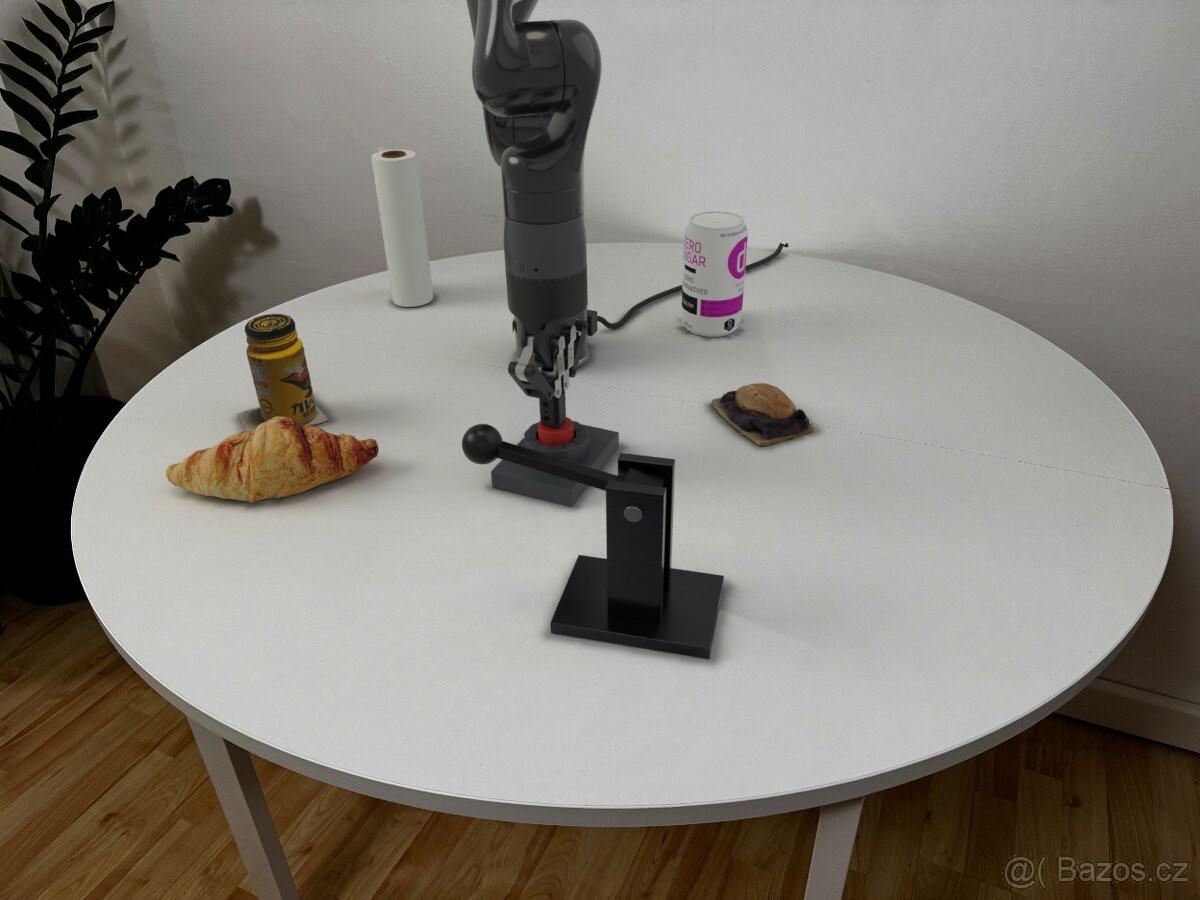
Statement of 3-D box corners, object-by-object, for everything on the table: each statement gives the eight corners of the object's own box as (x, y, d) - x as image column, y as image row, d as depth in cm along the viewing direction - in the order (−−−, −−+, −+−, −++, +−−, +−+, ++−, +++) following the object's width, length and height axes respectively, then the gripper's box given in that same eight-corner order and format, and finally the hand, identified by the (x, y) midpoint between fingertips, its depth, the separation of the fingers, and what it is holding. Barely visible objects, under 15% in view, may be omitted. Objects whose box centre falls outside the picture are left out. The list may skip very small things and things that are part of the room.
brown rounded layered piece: (705, 406, 105) (706, 378, 103) (766, 391, 107) (768, 363, 106) (755, 449, 96) (757, 420, 94) (820, 431, 99) (823, 402, 97)
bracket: (550, 633, 73) (542, 495, 66) (578, 564, 80) (574, 433, 73) (709, 659, 70) (719, 518, 63) (723, 585, 78) (733, 451, 70)
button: (548, 426, 94) (547, 412, 93) (579, 433, 93) (579, 418, 92) (532, 443, 91) (531, 428, 90) (564, 450, 90) (563, 435, 89)
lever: (453, 465, 70) (457, 432, 68) (468, 444, 72) (472, 411, 71) (650, 525, 68) (659, 492, 67) (657, 501, 71) (666, 469, 69)
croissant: (175, 533, 91) (145, 497, 84) (178, 449, 96) (150, 408, 89) (387, 503, 94) (375, 466, 87) (379, 422, 99) (368, 381, 92)
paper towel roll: (430, 308, 130) (411, 158, 119) (388, 308, 130) (366, 159, 119) (438, 289, 136) (421, 145, 125) (398, 289, 136) (378, 145, 125)
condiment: (328, 421, 103) (309, 325, 96) (254, 443, 99) (228, 344, 93) (308, 396, 108) (288, 303, 102) (237, 416, 104) (211, 321, 98)
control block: (545, 431, 100) (543, 400, 98) (619, 447, 97) (619, 415, 95) (492, 487, 91) (488, 454, 89) (572, 507, 88) (570, 473, 86)
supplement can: (750, 321, 124) (759, 215, 116) (724, 343, 119) (731, 233, 111) (698, 309, 128) (703, 206, 120) (670, 330, 122) (674, 223, 114)
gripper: (549, 292, 75) (557, 464, 85) (612, 244, 86) (613, 402, 95) (473, 280, 78) (488, 448, 87) (542, 234, 88) (550, 389, 97)
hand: (553, 424), depth 91 cm, fingers closed
